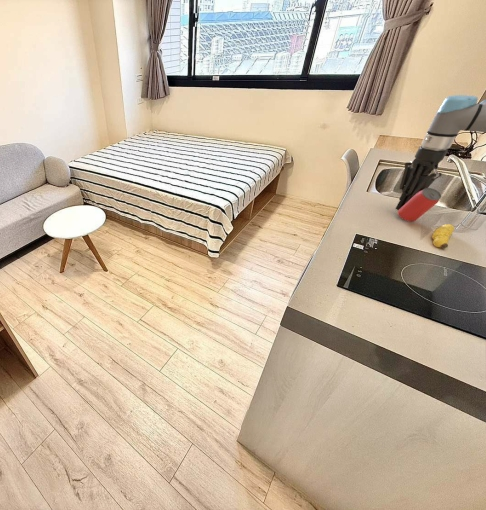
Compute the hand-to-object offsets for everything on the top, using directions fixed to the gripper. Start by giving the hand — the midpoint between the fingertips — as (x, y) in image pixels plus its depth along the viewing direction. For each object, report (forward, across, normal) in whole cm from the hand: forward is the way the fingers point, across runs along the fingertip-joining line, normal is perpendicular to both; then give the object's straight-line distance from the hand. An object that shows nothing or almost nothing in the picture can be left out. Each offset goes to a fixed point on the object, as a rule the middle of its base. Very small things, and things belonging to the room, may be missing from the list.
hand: (400, 209), depth 108 cm
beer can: (+1, +4, 0) cm, 4 cm away
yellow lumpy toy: (+2, +18, 0) cm, 18 cm away
